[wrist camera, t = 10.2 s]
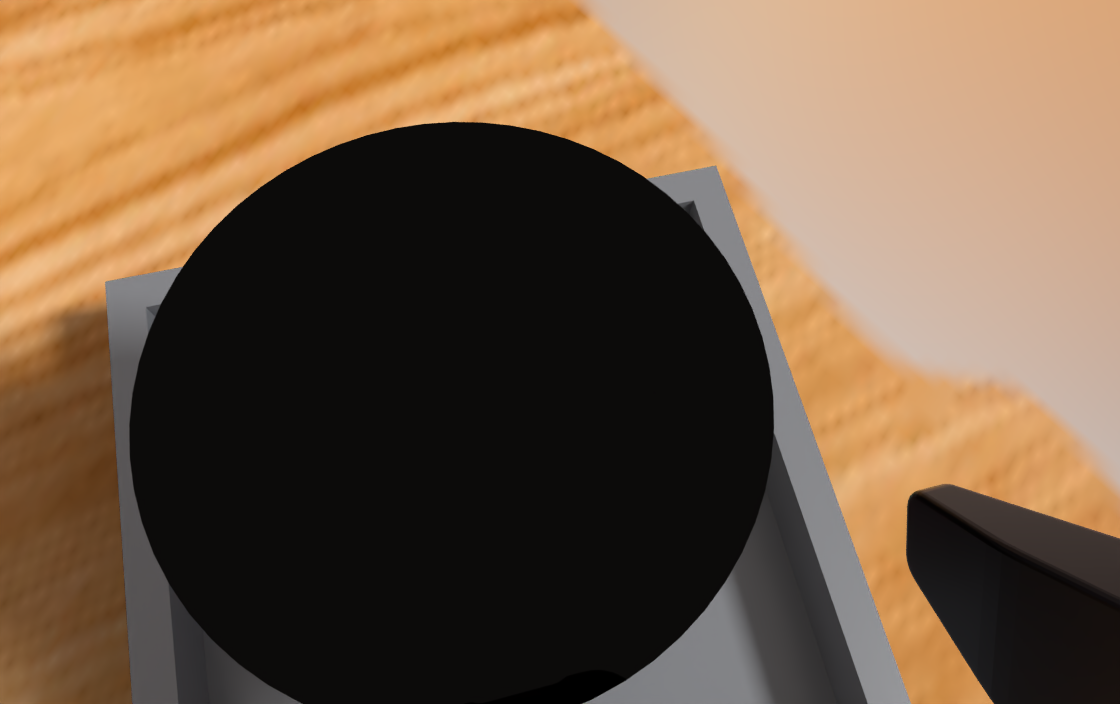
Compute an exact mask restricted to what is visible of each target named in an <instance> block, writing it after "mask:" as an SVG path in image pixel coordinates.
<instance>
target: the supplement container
mask: <svg viewBox="0 0 1120 704" xmlns="http://www.w3.org/2000/svg"><path fill="white" fill-rule="evenodd" d="M773 435H774V400H773V389H772V382H771V374H770V367H769V362H768V358H767V354H766V350H765V346H764V342H763V337H762V334H761V332H760V329H759V326H758V323H757V320H756V317H755V315H754V312H753V309H752V307H751V305H750V303H749V301H748V298H747V296H746V294H745V292H744V290H743V288H742V286H741V284H740V282H739V280H738V278H737V277H736V275H735V273H734V272H733V270H732V269H731V267H730V265H729V264H728V262H727V260H726V259H725V257H724V256H723V254H722V253H721V252H720V250H719V249H718V248H717V246H716V245H715V244H714V242H713V241H712V240H711V238H710V237H709V236H708V234H707V233H706V232H705V231H704V230H703V229H702V228H701V227H700V226H699V225H698V223H697V222H696V221H695V220H694V219H693V218H692V217H691V216H690V215H689V214H688V213H687V212H686V211H685V210H684V209H683V208H682V207H681V206H680V205H679V204H677V203H676V202H675V201H674V200H673V199H672V198H671V197H670V196H669V195H667V194H666V193H665V192H664V191H662V190H661V189H660V188H658V187H657V186H655V185H654V184H653V183H651V182H650V181H649V180H647V179H646V178H645V177H643V176H642V175H640V174H638V173H637V172H635V171H633V170H632V169H630V168H629V167H627V166H625V165H624V164H622V163H620V162H619V161H617V160H614V159H612V158H610V157H608V156H606V155H604V154H602V153H600V152H598V151H596V150H594V149H592V148H589V147H586V146H584V145H581V144H579V143H576V142H573V141H571V140H568V139H565V138H562V137H558V136H555V135H551V134H548V133H544V132H541V131H536V130H531V129H526V128H521V127H515V126H509V125H500V124H490V123H474V122H447V123H432V124H421V125H415V126H408V127H402V128H395V129H391V130H387V131H383V132H379V133H375V134H370V135H366V136H363V137H360V138H357V139H354V140H351V141H348V142H345V143H342V144H340V145H337V146H335V147H332V148H330V149H328V150H325V151H323V152H321V153H319V154H316V155H314V156H312V157H310V158H308V159H306V160H304V161H302V162H301V163H299V164H297V165H295V166H293V167H291V168H289V169H288V170H286V171H284V172H283V173H281V174H280V175H278V176H277V177H275V178H274V179H272V180H271V181H269V182H268V183H266V184H265V185H263V186H262V187H260V188H259V189H258V190H256V191H255V192H254V193H253V194H251V195H250V196H249V197H248V198H246V199H245V200H244V201H243V202H241V203H240V204H239V205H238V206H236V207H235V208H234V209H233V210H232V211H231V212H230V213H229V214H228V215H227V216H226V217H225V218H224V219H223V220H222V221H221V222H220V223H219V224H218V225H217V226H216V227H215V228H214V229H213V230H212V231H211V232H210V233H209V234H208V236H207V237H206V238H205V239H204V240H203V241H202V243H201V244H200V245H199V246H198V247H197V248H196V250H195V251H194V252H193V254H192V255H191V256H190V258H189V259H188V261H187V262H186V263H185V265H184V266H183V268H182V269H181V271H180V272H179V273H178V275H177V276H176V278H175V280H174V282H173V283H172V285H171V287H170V289H169V290H168V292H167V294H166V296H165V297H164V299H163V301H162V303H161V305H160V307H159V309H158V312H157V314H156V316H155V318H154V321H153V323H152V325H151V328H150V330H149V332H148V335H147V338H146V341H145V345H144V348H143V351H142V354H141V357H140V360H139V364H138V369H137V373H136V378H135V383H134V388H133V393H132V402H131V412H130V422H129V444H130V464H131V472H132V480H133V488H134V493H135V497H136V501H137V505H138V509H139V513H140V517H141V521H142V524H143V527H144V530H145V532H146V535H147V538H148V540H149V543H150V546H151V548H152V551H153V554H154V556H155V558H156V560H157V562H158V564H159V565H160V567H161V569H162V571H163V573H164V575H165V577H166V579H167V581H168V583H169V585H170V586H171V588H172V589H173V591H174V592H175V594H176V595H177V597H178V598H179V600H180V601H181V603H182V604H183V605H184V607H185V608H186V610H187V611H188V613H189V614H190V615H191V616H192V618H193V619H194V620H195V621H196V622H197V623H198V624H199V626H200V627H201V628H202V629H203V630H204V631H205V633H206V634H207V635H208V636H209V637H210V638H211V639H212V640H213V641H214V642H215V643H216V644H217V645H218V646H219V647H220V648H221V649H222V650H224V651H225V652H226V653H227V654H228V655H229V656H230V657H231V658H232V659H233V660H235V661H236V662H237V663H238V664H239V665H240V666H242V667H243V668H245V669H246V670H247V671H249V672H250V673H252V674H253V675H254V676H256V677H257V678H259V679H260V680H261V681H263V682H264V683H266V684H267V685H269V686H271V687H272V688H274V689H276V690H278V691H280V692H281V693H283V694H285V695H287V696H289V697H291V698H292V699H294V700H296V701H298V702H300V703H302V704H583V703H585V702H588V701H590V700H592V699H594V698H596V697H598V696H600V695H601V694H603V693H605V692H607V691H609V690H610V689H612V688H614V687H616V686H618V685H619V684H621V683H623V682H625V681H626V680H627V679H629V678H630V677H632V676H633V675H635V674H636V673H637V672H639V671H640V670H642V669H643V668H644V667H646V666H647V665H649V664H650V663H651V662H653V661H654V660H655V659H657V658H658V657H659V656H660V655H661V654H662V653H663V652H664V651H666V650H667V649H668V648H669V647H670V646H671V645H672V644H673V643H675V642H676V641H677V640H678V639H679V638H680V637H681V636H682V635H683V634H684V633H685V632H686V631H687V630H688V629H689V627H690V626H691V625H692V624H693V623H694V622H695V621H696V620H697V619H698V618H699V616H700V615H701V614H702V613H703V612H704V611H705V610H706V608H707V607H708V606H709V604H710V603H711V601H712V600H713V599H714V597H715V596H716V594H717V593H718V592H719V590H720V589H721V588H722V586H723V585H724V583H725V582H726V580H727V579H728V577H729V575H730V573H731V572H732V570H733V568H734V566H735V565H736V563H737V561H738V559H739V558H740V556H741V554H742V552H743V550H744V548H745V545H746V543H747V541H748V538H749V536H750V534H751V531H752V529H753V527H754V525H755V522H756V519H757V516H758V513H759V509H760V506H761V503H762V500H763V497H764V493H765V490H766V485H767V480H768V474H769V469H770V464H771V459H772V447H773Z"/></svg>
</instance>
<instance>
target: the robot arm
mask: <svg viewBox="0 0 1120 704" xmlns="http://www.w3.org/2000/svg"><path fill="white" fill-rule="evenodd" d="M906 556H907V562H908V566H909V569H910V571H911V574H912V576H913V578H914V579H915V581H916V583H917V584H918V586H919V587H920V589H921V591H922V592H923V594H924V595H925V597H926V599H927V600H928V602H929V603H930V605H931V606H932V608H933V610H934V611H935V613H936V614H937V616H938V618H939V619H940V621H941V622H942V624H943V626H944V627H945V629H946V630H947V632H948V633H949V635H950V637H951V638H952V640H953V641H954V643H955V645H956V646H957V648H958V649H959V651H960V653H961V654H962V656H963V657H964V659H965V660H966V662H967V664H968V665H969V667H970V668H971V670H972V672H973V673H974V675H975V676H976V678H977V679H978V681H979V682H980V684H981V685H982V687H983V688H984V690H985V691H986V693H987V694H988V696H989V697H990V699H991V700H992V701H993V703H994V704H1120V539H1119V538H1116V537H1113V536H1110V535H1107V534H1104V533H1101V532H1097V531H1094V530H1091V529H1088V528H1085V527H1082V526H1079V525H1076V524H1073V523H1069V522H1066V521H1063V520H1060V519H1057V518H1054V517H1051V516H1048V515H1045V514H1042V513H1038V512H1035V511H1032V510H1029V509H1026V508H1023V507H1020V506H1017V505H1014V504H1010V503H1007V502H1004V501H1001V500H998V499H995V498H992V497H989V496H986V495H983V494H979V493H976V492H973V491H970V490H967V489H964V488H961V487H958V486H955V485H951V484H942V485H938V486H934V487H930V488H926V489H922V490H918V491H915V492H914V493H913V494H912V495H911V496H910V498H909V500H908V506H907V541H906Z"/></svg>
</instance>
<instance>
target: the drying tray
mask: <svg viewBox="0 0 1120 704" xmlns="http://www.w3.org/2000/svg"><path fill="white" fill-rule="evenodd" d="M647 180H649V181H650V182H651V183H653V184H654V185H655V186H657V187H658V188H660V189H661V190H662V191H664V192H665V193H666V194H667V195H669V196H670V197H671V198H672V199H673V200H674V201H675V202H676V203H677V204H679V205H680V206H681V207H682V208H683V209H684V210H685V211H686V212H687V213H688V214H689V215H690V216H691V217H692V218H693V219H694V220H695V221H696V222H697V223H698V225H699V226H700V227H701V228H702V229H703V230H704V231H705V232H706V233H707V234H708V236H709V237H710V238H711V240H712V241H713V242H714V244H715V245H716V246H717V248H718V249H719V250H720V252H721V253H722V254H723V256H724V257H725V259H726V260H727V262H728V264H729V265H730V267H731V269H732V270H733V272H734V273H735V275H736V277H737V278H738V280H739V282H740V284H741V286H742V288H743V290H744V292H745V294H746V296H747V298H748V301H749V303H750V305H751V307H752V309H753V312H754V315H755V317H756V320H757V323H758V326H759V329H760V332H761V334H762V337H763V342H764V346H765V350H766V354H767V358H768V362H769V367H770V374H771V382H772V389H773V400H774V435H773V447H772V459H771V464H770V469H769V474H768V480H767V485H766V490H765V493H764V497H763V500H762V503H761V506H760V509H759V513H758V516H757V519H756V522H755V525H754V527H753V529H752V531H751V534H750V536H749V538H748V541H747V543H746V545H745V548H744V550H743V552H742V554H741V556H740V558H739V559H738V561H737V563H736V565H735V566H734V568H733V570H732V572H731V573H730V575H729V577H728V579H727V580H726V582H725V583H724V585H723V586H722V588H721V589H720V590H719V592H718V593H717V594H716V596H715V597H714V599H713V600H712V601H711V603H710V604H709V606H708V607H707V608H706V610H705V611H704V612H703V613H702V614H701V615H700V616H699V618H698V619H697V620H696V621H695V622H694V623H693V624H692V625H691V626H690V627H689V629H688V630H687V631H686V632H685V633H684V634H683V635H682V636H681V637H680V638H679V639H678V640H677V641H676V642H675V643H673V644H672V645H671V646H670V647H669V648H668V649H667V650H666V651H664V652H663V653H662V654H661V655H660V656H659V657H658V658H657V659H655V660H654V661H653V662H651V663H650V664H649V665H647V666H646V667H644V668H643V669H642V670H640V671H639V672H637V673H636V674H635V675H633V676H632V677H630V678H629V679H627V680H626V681H625V682H623V683H621V684H619V685H618V686H616V687H614V688H612V689H610V690H609V691H607V692H605V693H603V694H601V695H600V696H598V697H596V698H594V699H592V700H590V701H588V702H585V703H583V704H911V703H910V700H909V697H908V694H907V692H906V689H905V686H904V683H903V681H902V678H901V675H900V672H899V669H898V667H897V664H896V661H895V658H894V656H893V653H892V650H891V647H890V645H889V642H888V639H887V636H886V634H885V631H884V628H883V625H882V623H881V620H880V617H879V614H878V611H877V609H876V606H875V603H874V600H873V598H872V595H871V592H870V589H869V587H868V584H867V581H866V578H865V576H864V573H863V570H862V567H861V565H860V562H859V559H858V556H857V553H856V551H855V548H854V545H853V542H852V540H851V537H850V534H849V531H848V529H847V526H846V523H845V520H844V518H843V515H842V512H841V509H840V507H839V504H838V501H837V498H836V496H835V493H834V490H833V487H832V484H831V482H830V479H829V476H828V473H827V471H826V468H825V465H824V462H823V460H822V457H821V454H820V451H819V449H818V446H817V443H816V440H815V438H814V435H813V432H812V429H811V426H810V424H809V421H808V418H807V415H806V413H805V410H804V407H803V404H802V402H801V399H800V396H799V393H798V391H797V388H796V385H795V382H794V380H793V377H792V374H791V371H790V368H789V366H788V363H787V360H786V357H785V355H784V352H783V349H782V346H781V344H780V341H779V338H778V335H777V333H776V330H775V327H774V324H773V322H772V319H771V316H770V313H769V311H768V308H767V305H766V302H765V299H764V297H763V294H762V291H761V288H760V286H759V283H758V280H757V277H756V275H755V272H754V269H753V266H752V264H751V261H750V258H749V255H748V253H747V250H746V247H745V244H744V241H743V239H742V236H741V233H740V230H739V228H738V225H737V222H736V219H735V217H734V214H733V211H732V208H731V206H730V203H729V200H728V197H727V195H726V192H725V189H724V186H723V184H722V181H721V178H720V175H719V172H718V170H717V167H716V166H712V167H707V168H701V169H696V170H691V171H685V172H680V173H675V174H670V175H664V176H659V177H654V178H649V179H647ZM182 268H183V267H180V268H175V269H170V270H164V271H159V272H154V273H149V274H143V275H138V276H133V277H128V278H122V279H117V280H112V281H107V282H105V286H106V302H107V317H108V333H109V348H110V364H111V380H112V395H113V411H114V426H115V442H116V457H117V473H118V488H119V504H120V520H121V535H122V551H123V566H124V582H125V597H126V613H127V628H128V644H129V659H130V675H131V691H132V704H302V703H300V702H298V701H296V700H294V699H292V698H291V697H289V696H287V695H285V694H283V693H281V692H280V691H278V690H276V689H274V688H272V687H271V686H269V685H267V684H266V683H264V682H263V681H261V680H260V679H259V678H257V677H256V676H254V675H253V674H252V673H250V672H249V671H247V670H246V669H245V668H243V667H242V666H240V665H239V664H238V663H237V662H236V661H235V660H233V659H232V658H231V657H230V656H229V655H228V654H227V653H226V652H225V651H224V650H222V649H221V648H220V647H219V646H218V645H217V644H216V643H215V642H214V641H213V640H212V639H211V638H210V637H209V636H208V635H207V634H206V633H205V631H204V630H203V629H202V628H201V627H200V626H199V624H198V623H197V622H196V621H195V620H194V619H193V618H192V616H191V615H190V614H189V613H188V611H187V610H186V608H185V607H184V605H183V604H182V603H181V601H180V600H179V598H178V597H177V595H176V594H175V592H174V591H173V589H172V588H171V586H170V585H169V583H168V581H167V579H166V577H165V575H164V573H163V571H162V569H161V567H160V565H159V564H158V562H157V560H156V558H155V556H154V554H153V551H152V548H151V546H150V543H149V540H148V538H147V535H146V532H145V530H144V527H143V524H142V521H141V517H140V513H139V509H138V505H137V501H136V497H135V493H134V488H133V480H132V472H131V464H130V444H129V422H130V412H131V402H132V393H133V388H134V383H135V378H136V373H137V369H138V364H139V360H140V357H141V354H142V351H143V348H144V345H145V341H146V338H147V335H148V332H149V330H150V328H151V325H152V323H153V321H154V318H155V316H156V314H157V312H158V309H159V307H160V305H161V303H162V301H163V299H164V297H165V296H166V294H167V292H168V290H169V289H170V287H171V285H172V283H173V282H174V280H175V278H176V276H177V275H178V273H179V272H180V271H181V269H182Z"/></svg>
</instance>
